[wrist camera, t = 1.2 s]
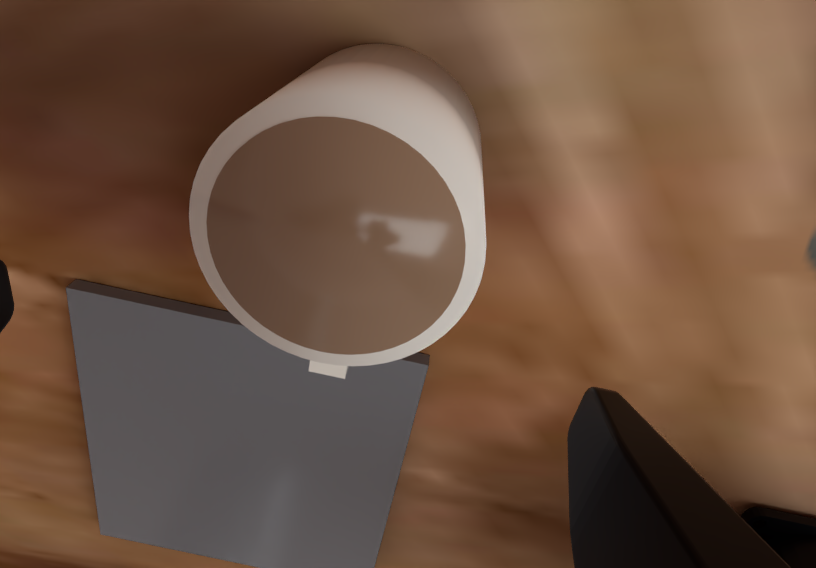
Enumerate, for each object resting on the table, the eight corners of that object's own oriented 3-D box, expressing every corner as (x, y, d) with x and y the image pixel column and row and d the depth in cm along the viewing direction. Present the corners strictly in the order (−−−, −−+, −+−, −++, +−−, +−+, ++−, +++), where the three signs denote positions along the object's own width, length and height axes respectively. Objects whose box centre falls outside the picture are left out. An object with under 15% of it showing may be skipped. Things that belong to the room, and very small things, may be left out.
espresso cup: (505, 69, 16) (524, 135, 10) (443, 304, 19) (431, 448, 14) (290, 21, 15) (184, 60, 10) (271, 267, 19) (188, 396, 14)
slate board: (429, 355, 21) (428, 365, 20) (370, 578, 28) (368, 590, 27) (76, 279, 20) (65, 287, 20) (107, 523, 27) (100, 534, 27)
